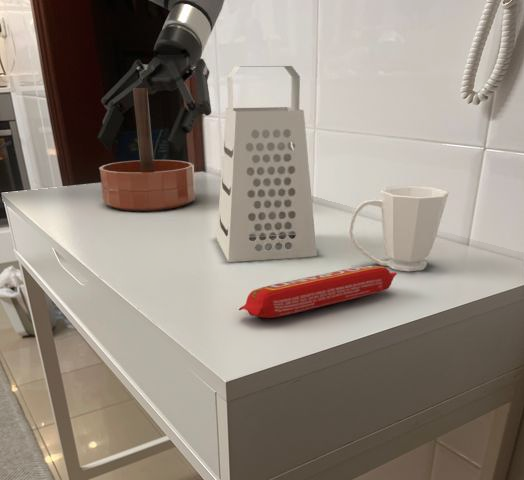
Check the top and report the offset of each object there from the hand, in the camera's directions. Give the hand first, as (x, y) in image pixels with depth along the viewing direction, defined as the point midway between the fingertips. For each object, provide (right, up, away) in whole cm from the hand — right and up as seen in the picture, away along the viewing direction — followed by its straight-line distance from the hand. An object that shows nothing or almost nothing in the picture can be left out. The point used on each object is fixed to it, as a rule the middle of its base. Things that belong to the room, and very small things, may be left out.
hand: (137, 145), depth 89 cm
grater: (+20, -20, -20) cm, 35 cm away
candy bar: (+25, -29, -38) cm, 54 cm away
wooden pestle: (+1, -7, +5) cm, 9 cm away
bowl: (+1, -8, +6) cm, 10 cm away
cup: (+35, -23, -27) cm, 50 cm away
